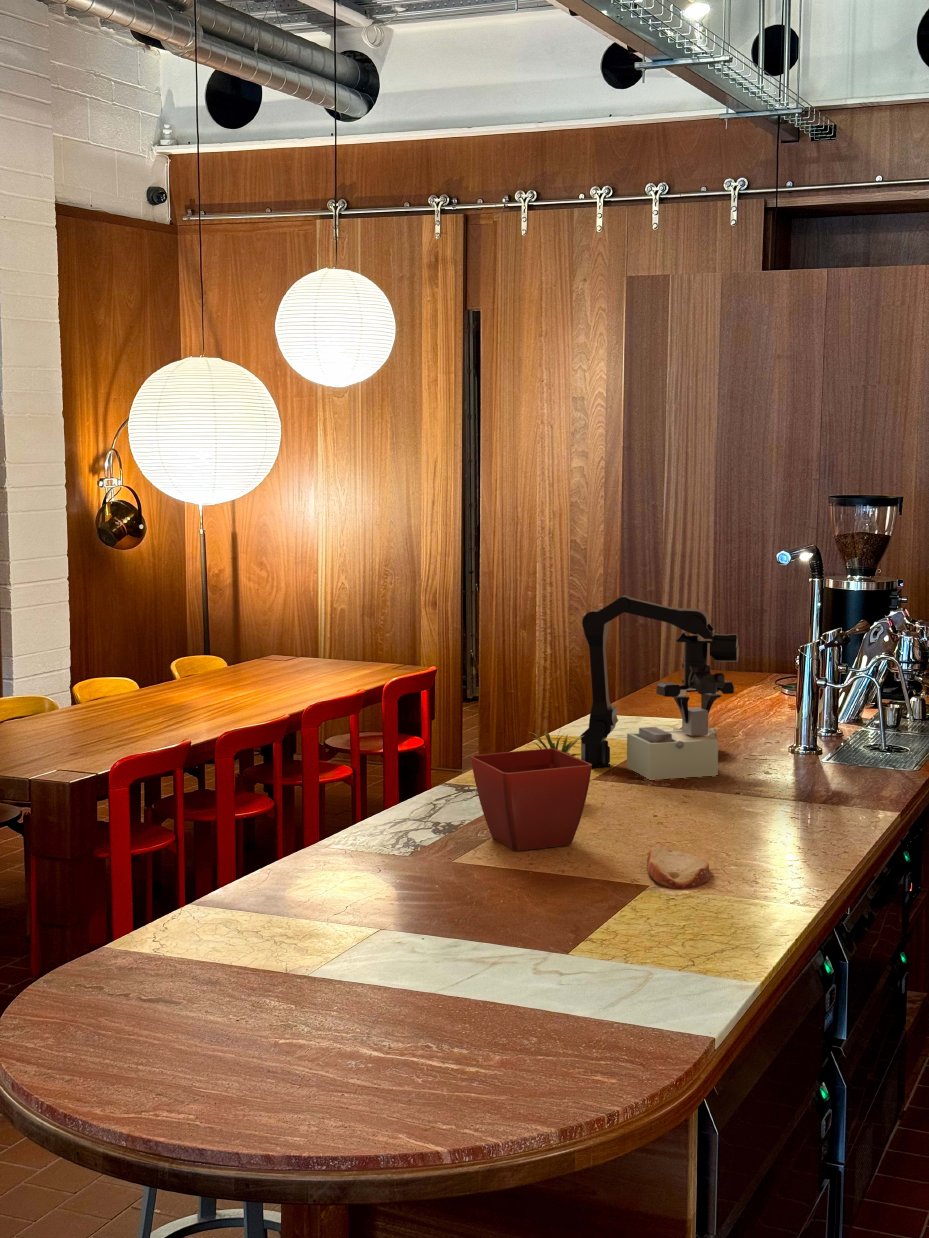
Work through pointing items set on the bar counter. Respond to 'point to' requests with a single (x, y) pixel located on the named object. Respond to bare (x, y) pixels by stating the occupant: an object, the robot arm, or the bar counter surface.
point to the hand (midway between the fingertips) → (694, 722)
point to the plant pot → (532, 796)
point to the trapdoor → (667, 735)
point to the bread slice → (677, 868)
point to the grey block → (696, 722)
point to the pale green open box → (672, 757)
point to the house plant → (552, 745)
